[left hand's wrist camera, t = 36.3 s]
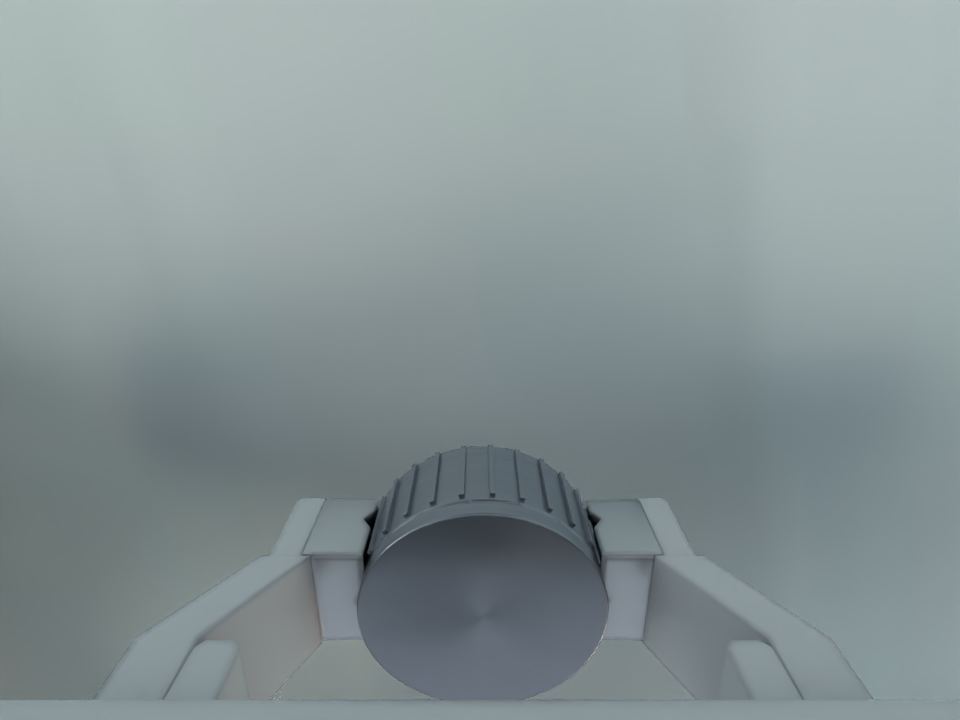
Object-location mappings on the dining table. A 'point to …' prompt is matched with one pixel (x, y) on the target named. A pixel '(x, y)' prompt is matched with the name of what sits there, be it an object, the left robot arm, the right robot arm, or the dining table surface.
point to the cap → (482, 578)
